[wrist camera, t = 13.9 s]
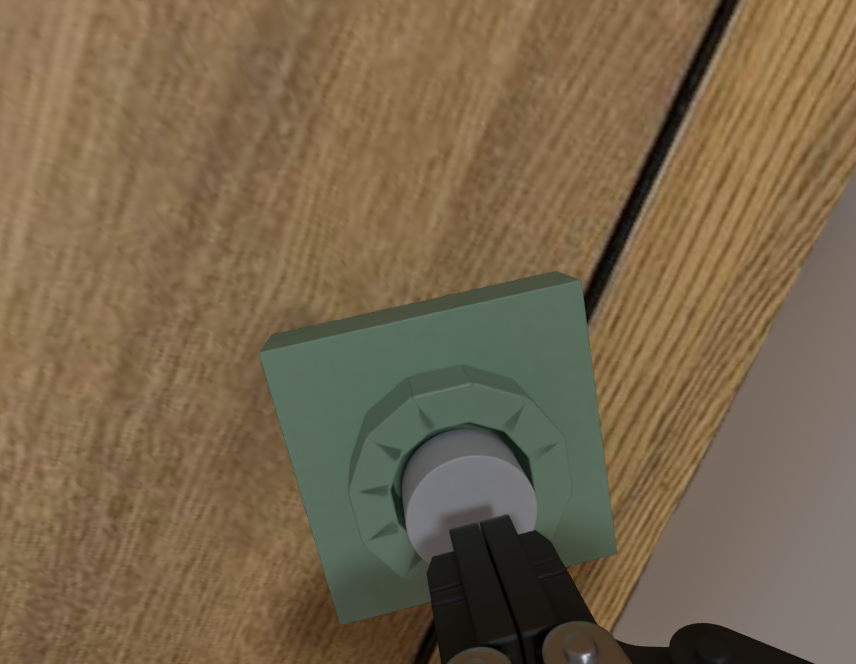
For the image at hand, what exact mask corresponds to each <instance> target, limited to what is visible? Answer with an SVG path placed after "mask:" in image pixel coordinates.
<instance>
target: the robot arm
mask: <svg viewBox="0 0 856 664" xmlns="http://www.w3.org/2000/svg"><path fill="white" fill-rule="evenodd" d="M479 523H480V528H479V525H478V523H477V522H476V523H472V524H468V525H464V526H460V527H456V528H452V529H449V533H450V538H451V542H452V547H453V551H452V552H448V553H444V554H440V555H436V556H432V559H431V562H430V565H429V568H428V570H427V573H426V574H427V580H428V586H429V592H430V598H431V604H432V610H433V616H434V622H435V628H436V634H437V640H438V646H439V652H440V658H441V664H814V663H811V662H809V661H807V660H804V659H802V658H799V657H797V656H794V655H792V654H789V653H787V652H785V651H782V650H780V649H777V648H775V647H772V646H770V645H767V644H765V643H762V642H760V641H757V640H755V639H752V638H750V637H748V636H745V635H743V634H740V633H738V632H735V631H733V630H730V629H728V628H725V627H722V626H720V625H715V624H709V623H696V624H690V625H687V626H684V627H683V628H681V629H679V630H678V631H677V632H676V633H675V634H674V635H673V636H672V638H671V641H670V645H669V647H644V646H635V645H630V644H626V643H623V642H621V641H618V640H616V639H615V638H614V637H613V636H612V634H610V633H609V632H608V631H607V630H606V629H604V628H602V627H601V626H599V625H598V624H597V623H596V621H595V620H594V618H593V616H592V614H591V612H590V611H589V609H588V607H587V605H586V603H585V602H584V600H583V598H582V596H581V594H580V593H579V591H578V589H577V587H576V585H575V584H574V582H573V580H572V578H571V576H570V574H569V573H568V572H567V569H566V567H565V565H564V564H563V562H562V560H560V556H559V555H558V553H557V551H556V549H555V547H554V546H553V544H552V542H551V541H550V540H549V539H547V538H546V537H545V536H543V535H542V534H540V533H539V532H537V531H536V530H533V531H529V532H525V533H522V534H518V533H517V531H516V529H515V527H514V525H513V523H512V520H511V518H510V516H509V515H508V514H507V515H503V516H499V517H495V518H491V519H487V520H483V521H480V522H479ZM480 529H481V530H480Z"/></svg>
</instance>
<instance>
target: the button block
mask: <svg viewBox="0 0 856 664" xmlns="http://www.w3.org/2000/svg"><path fill="white" fill-rule="evenodd" d="M259 356H260V360H261V363H262V366H263V370H264V373H265V376H266V380H267V383H268V386H269V390H270V393H271V396H272V400H273V403H274V406H275V410H276V413H277V416H278V420H279V423H280V426H281V430H282V433H283V436H284V440H285V443H286V447H287V450H288V453H289V457H290V460H291V463H292V467H293V470H294V473H295V477H296V480H297V483H298V487H299V490H300V493H301V497H302V500H303V503H304V507H305V510H306V513H307V517H308V520H309V523H310V527H311V530H312V533H313V537H314V540H315V543H316V547H317V550H318V553H319V557H320V560H321V564H322V567H323V570H324V574H325V577H326V580H327V584H328V587H329V590H330V594H331V597H332V600H333V604H334V607H335V610H336V614H337V617H338V620H339V624H340V625H344V624H348V623H352V622H356V621H360V620H363V619H367V618H371V617H375V616H379V615H383V614H387V613H390V612H394V611H398V610H402V609H406V608H410V607H414V606H417V605H421V604H425V603H429V602H431V598H430V592H429V586H428V580H427V574H426V573H427V570H428V568H429V565H430V564H429V563H427V562H426V561H425V560H424V559H422V557H421V556H420V555H419V554H418V553H417V552H416V550H415V549H414V548H413V546H412V544H411V542H410V540H409V537H408V534H407V530H406V523H405V515H404V507H403V499H402V478H403V474H404V471H405V468H406V466H407V464H408V462H409V460H410V459H411V457H412V456H413V454H414V453H415V452H416V451H417V450H418V449H419V448H420V447H421V446H422V445H423V444H424V443H426V442H427V441H428V440H430V439H432V438H433V437H435V436H437V435H439V434H442V433H445V432H448V431H452V430H457V429H474V430H479V431H483V432H486V433H489V434H491V435H493V436H495V437H497V438H498V439H500V440H501V441H502V442H503V443H505V444H506V445H507V446H508V447H509V449H510V450H511V451H512V453H513V454H514V456H515V458H516V459H517V461H518V463H519V464H520V466H521V468H522V470H523V471H524V473H525V475H526V476H527V478H528V480H529V481H530V483H531V485H532V487H533V489H534V492H535V495H536V499H537V519H536V524H535V527H534V530H536V531H537V532H539V533H540V534H542V535H543V536H545V537H546V538H547V539H549V540H550V541H551V542H552V544H553V546H554V547H555V549H556V551H557V553H558V555H559V556H560V560H562V562H563V564H564V565H565V567H568V566H572V565H576V564H580V563H583V562H587V561H591V560H595V559H599V558H603V557H607V556H610V555H614V554H617V548H616V540H615V533H614V525H613V518H612V510H611V502H610V495H609V487H608V480H607V472H606V465H605V457H604V450H603V442H602V434H601V427H600V419H599V412H598V404H597V397H596V389H595V381H594V374H593V366H592V359H591V351H590V344H589V336H588V329H587V321H586V313H585V306H584V298H583V291H582V283H581V280H580V279H577V278H574V277H571V276H568V275H566V274H563V273H560V272H557V271H555V272H550V273H546V274H541V275H537V276H533V277H528V278H524V279H519V280H515V281H510V282H506V283H501V284H497V285H492V286H488V287H484V288H479V289H475V290H470V291H466V292H461V293H457V294H452V295H448V296H443V297H439V298H435V299H430V300H426V301H421V302H417V303H412V304H408V305H403V306H399V307H394V308H390V309H385V310H381V311H377V312H372V313H368V314H363V315H359V316H354V317H350V318H345V319H341V320H336V321H332V322H328V323H323V324H319V325H314V326H310V327H305V328H301V329H296V330H292V331H287V332H283V333H279V334H274V335H271V336H270V338H269V339H268V341H267V342H266V343H265V345H264V346H263V348H262V349H261V350H260V352H259Z"/></svg>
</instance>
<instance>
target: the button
mask: <svg viewBox="0 0 856 664" xmlns="http://www.w3.org/2000/svg"><path fill="white" fill-rule="evenodd" d="M402 499H403V507H404V515H405V523H406V530H407V534H408V537H409V540H410V542H411V544H412V546H413V548H414V549H415V550H416V552H417V553H418V554H419V555H420V556H421V557H422V559H424V560H425V561H426V562H427V563H429V564H430V562H431V559H432V556H436V555H440V554H444V553H448V552H452V551H453V547H452V542H451V538H450V533H449V529H452V528H456V527H460V526H464V525H468V524H472V523H476V522H477V523H478V525H479V528H480V523H479V522H480V521H483V520H487V519H491V518H495V517H499V516H503V515H507V514H508V515H509V516H510V518H511V520H512V523H513V525H514V527H515V529H516V531H517V533H518V534H522V533H525V532H529V531H533V530H534V527H535V524H536V519H537V499H536V495H535V492H534V489H533V487H532V485H531V483H530V481H529V480H528V478H527V476H526V475H525V473H524V471H523V470H522V468H521V466H520V464H519V463H518V461H517V459H516V458H515V456H514V454H513V453H512V451H511V450H510V449H509V447H508V446H507V445H506V444H505V443H503V442H502V441H501V440H500V439H498V438H497V437H495V436H493V435H491V434H489V433H486V432H483V431H479V430H474V429H457V430H452V431H448V432H445V433H442V434H439V435H437V436H435V437H433V438H432V439H430V440H428V441H427V442H426V443H424V444H423V445H422V446H421V447H420V448H419V449H418V450H417V451H416V452H415V453H414V454H413V456H412V457H411V459H410V460H409V462H408V464H407V466H406V468H405V471H404V474H403V478H402ZM480 530H481V529H480Z"/></svg>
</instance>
